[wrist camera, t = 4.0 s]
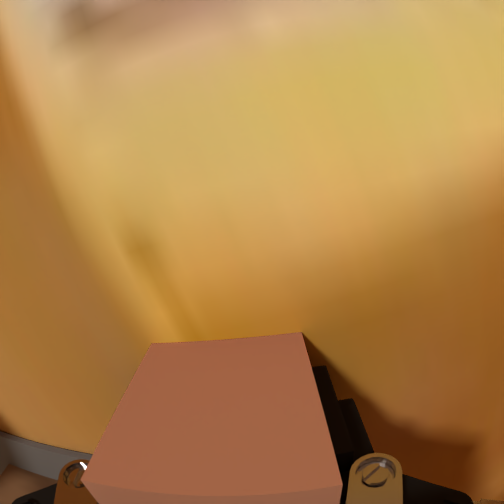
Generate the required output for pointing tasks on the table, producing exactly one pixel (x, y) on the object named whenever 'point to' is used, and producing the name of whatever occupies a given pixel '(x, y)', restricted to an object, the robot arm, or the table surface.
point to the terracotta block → (218, 428)
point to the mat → (35, 456)
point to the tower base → (20, 483)
